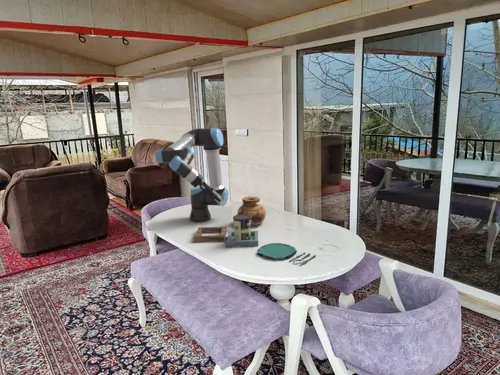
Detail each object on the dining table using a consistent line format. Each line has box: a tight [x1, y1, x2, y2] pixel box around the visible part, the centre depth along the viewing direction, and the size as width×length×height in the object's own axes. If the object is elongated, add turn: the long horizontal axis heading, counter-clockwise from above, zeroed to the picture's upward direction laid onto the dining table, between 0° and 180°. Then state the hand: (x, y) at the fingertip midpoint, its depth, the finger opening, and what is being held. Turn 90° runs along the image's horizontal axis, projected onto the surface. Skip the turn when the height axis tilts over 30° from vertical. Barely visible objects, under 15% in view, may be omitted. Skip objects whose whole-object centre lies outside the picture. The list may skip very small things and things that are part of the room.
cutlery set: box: [256, 242, 317, 267], centre depth 196 cm, size 20×30×2 cm, turn 48°
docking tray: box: [226, 230, 259, 248], centre depth 218 cm, size 18×18×3 cm
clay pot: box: [237, 196, 267, 226], centre depth 247 cm, size 19×19×20 cm
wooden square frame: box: [193, 226, 228, 243], centre depth 227 cm, size 18×18×3 cm
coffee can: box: [232, 214, 252, 240], centre depth 217 cm, size 10×10×14 cm
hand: (222, 201), depth 211 cm, fingers open, 13 cm apart
